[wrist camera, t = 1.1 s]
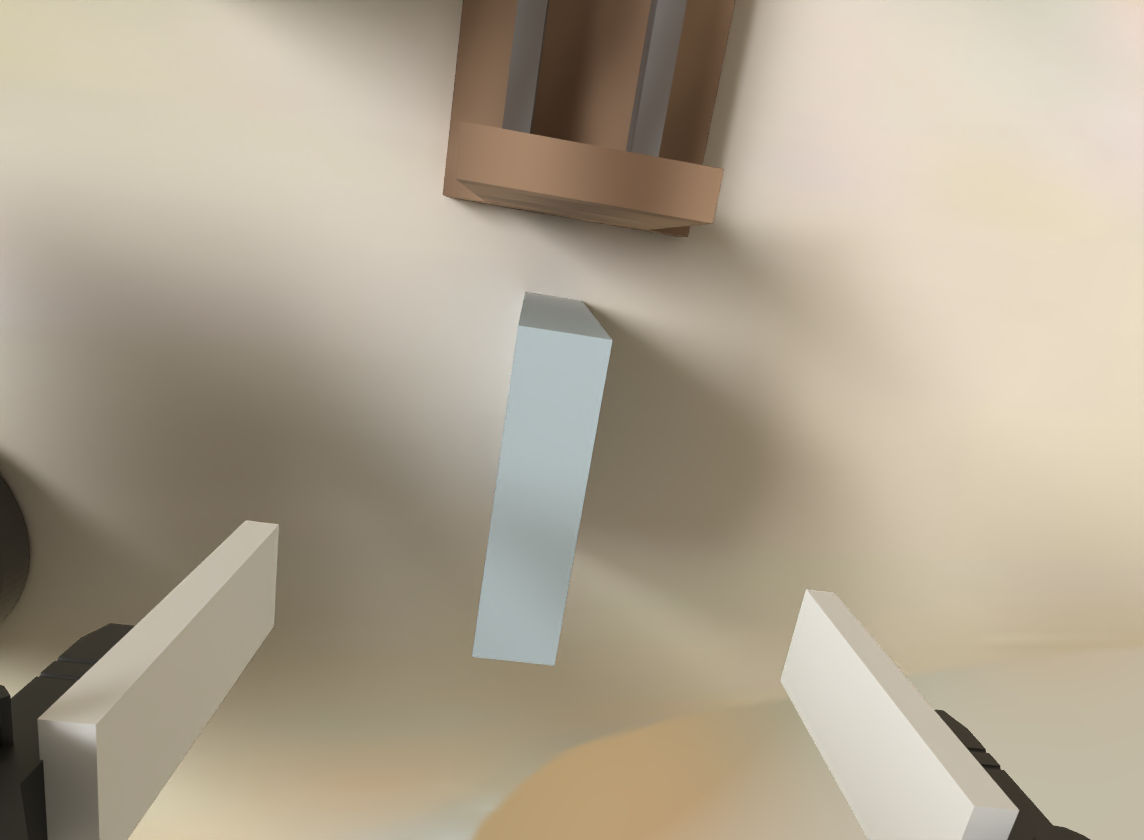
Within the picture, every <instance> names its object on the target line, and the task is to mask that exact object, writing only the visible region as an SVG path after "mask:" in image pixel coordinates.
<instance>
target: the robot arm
mask: <svg viewBox="0 0 1144 840" xmlns="http://www.w3.org/2000/svg"><path fill="white" fill-rule="evenodd" d="M278 538H279V524H273V523H265V522H257V521H248V520H246V521H245V522H243V523H242V524H241V525H240V526H239V527H238V528H237V529H236V530H235V531H234V532H233V533H232V534H231V535H230V536H229V537H228V538H227V539H226V540H225V541H224V542H222V543H221V544H220V545H219V546H218V547H217V548H216V549H215V550H214V551H213V552H212V553H211V554H210V555H209V556H208V557H207V558H206V559H205V560H204V561H203V562H202V563H200V564H199V565H198V566H197V567H196V568H195V569H194V570H193V571H192V572H191V573H190V574H189V575H188V576H187V577H186V578H185V579H184V580H183V581H182V582H181V583H180V584H178V585H177V586H176V587H175V588H174V589H173V590H172V591H171V592H170V593H169V594H168V595H167V596H166V597H165V598H164V599H163V600H162V601H161V602H160V603H159V604H158V605H156V606H155V607H154V608H153V609H152V610H151V611H150V612H149V613H148V614H147V615H146V616H145V617H144V618H143V619H142V620H141V621H140V622H139V623H138V624H137V625H136V626H130V625H121V624H109V625H106V626H104V627H102V628H100V629H98V630H96V631H94V632H92V633H90V634H88V635H86V636H84V637H82V638H80V639H79V640H78V641H77V642H76V643H75V644H73V645H72V646H71V647H70V648H69V649H68V650H67V651H65V652H64V653H63V654H62V655H61V656H60V657H59V659H58V661H54V662H53V663H52V664H50V665H49V666H48V667H47V668H46V669H45V670H43V671H42V672H41V675H40V677H35V678H34V679H33V680H32V681H31V682H30V683H28V684H27V685H26V686H25V687H24V688H23V689H22V690H20V691H19V692H18V693H17V694H16V695H15V696H14V697H12V698H11V697H10V694H9V693H8V691H7V690H6V688H5V687H4V686H2V685H0V840H128V838H129V837H130V835H131V834H132V832H133V831H134V829H135V828H136V826H137V825H138V823H139V822H140V821H141V819H142V818H143V816H144V815H145V813H146V812H147V810H148V809H149V807H150V806H151V805H152V803H153V802H154V800H155V799H156V797H157V796H158V794H159V793H160V791H161V790H162V788H163V787H164V786H165V784H166V783H167V781H168V780H169V778H170V777H171V775H172V774H173V772H174V771H175V770H176V768H177V767H178V765H179V764H180V762H181V761H182V759H183V758H184V756H185V755H186V754H187V752H188V751H189V749H190V748H191V746H192V745H193V743H194V742H195V740H196V739H197V737H198V736H199V735H200V733H201V732H202V730H203V729H204V727H205V726H206V724H207V723H208V721H209V720H210V719H211V717H212V716H213V714H214V713H215V711H216V710H217V708H218V707H219V705H220V704H221V702H222V701H223V700H224V698H225V697H226V695H227V694H228V692H229V691H230V689H231V688H232V686H233V685H234V684H235V682H236V681H237V679H238V678H239V676H240V675H241V673H242V672H243V670H244V669H245V668H246V666H247V665H248V663H249V662H250V660H251V659H252V657H253V656H254V654H255V653H256V651H257V650H258V649H259V647H260V646H261V644H262V643H263V641H264V640H265V638H266V637H267V635H268V634H269V633H270V631H271V630H272V628H273V627H274V618H275V598H276V578H277V558H278ZM28 564H29V545H28V537H27V532H26V528H25V524H24V520H23V518H22V515H21V512H20V509H19V507H18V505H17V503H16V501H15V499H14V497H13V495H12V493H11V491H10V490H9V488H8V487H7V485H6V483H5V482H4V480H3V479H2V478H1V476H0V622H1V621H2V620H3V619H4V618H5V617H6V616H7V615H8V613H9V612H10V611H11V609H12V608H13V607H14V605H15V604H16V602H17V600H18V598H19V596H20V594H21V592H22V590H23V587H24V584H25V581H26V577H27V572H28ZM780 681H781V683H782V685H783V687H784V689H785V690H786V692H787V694H788V696H789V698H790V699H791V701H792V703H793V705H794V707H795V708H796V710H797V712H798V714H799V716H800V717H801V719H802V721H803V723H804V725H805V727H806V728H807V730H808V732H809V734H810V735H811V737H812V739H813V741H814V742H815V745H816V746H817V748H818V750H819V752H820V754H821V755H822V757H823V759H824V761H825V763H826V765H827V766H828V768H829V770H830V772H831V773H832V775H833V777H834V779H835V780H836V783H837V784H838V786H839V788H840V789H841V792H842V793H843V795H844V797H845V799H846V801H847V802H848V804H849V806H850V808H851V810H852V812H853V813H854V815H855V817H856V819H857V821H858V822H859V824H860V826H861V828H862V830H863V831H864V833H865V835H866V837H867V839H868V840H1090V839H1088V838H1087V837H1085V836H1083V835H1081V834H1079V833H1077V832H1074V831H1072V830H1069V829H1067V828H1064V827H1059V826H1053V825H1052V824H1051V823H1050V822H1049V820H1048V819H1047V818H1046V817H1045V816H1044V815H1043V814H1042V813H1041V811H1040V810H1039V809H1038V808H1037V807H1036V806H1035V805H1034V803H1033V802H1032V801H1031V800H1030V799H1029V798H1028V797H1027V796H1026V794H1025V793H1024V792H1023V791H1022V790H1021V789H1020V788H1019V786H1018V785H1017V784H1016V783H1015V782H1014V781H1013V780H1012V779H1011V778H1010V776H1009V775H1008V774H1007V773H1006V772H1005V771H1004V770H1001V769H1000V765H999V764H998V763H997V762H996V760H995V759H994V758H993V757H992V756H991V755H990V754H989V753H986V750H985V748H984V747H983V746H982V745H981V743H980V742H979V741H978V740H977V739H976V738H975V737H974V736H973V734H972V733H971V732H970V731H969V730H968V729H967V728H966V727H964V726H963V725H962V724H960V723H959V722H958V721H956V720H955V719H954V718H952V717H951V716H950V715H948V714H947V713H946V712H944V711H942V710H934V709H933V708H932V707H931V706H930V705H929V703H928V702H927V701H926V700H925V699H924V697H923V696H922V695H921V694H920V693H919V692H918V690H917V689H916V688H915V687H914V686H913V684H912V683H911V682H910V681H909V680H908V678H907V677H906V676H905V675H904V674H903V673H902V671H901V670H900V669H899V668H898V667H897V666H896V664H895V663H894V662H893V661H892V660H891V658H890V657H889V656H888V655H887V654H886V653H885V651H884V650H883V649H882V648H881V647H880V645H879V644H878V643H877V642H876V641H875V640H874V638H873V637H872V636H871V635H870V634H869V632H868V631H867V630H866V629H865V628H864V627H863V625H862V624H861V623H860V622H859V621H858V620H857V618H856V617H855V616H854V615H853V614H852V612H851V611H850V610H849V609H848V608H847V607H846V605H845V604H844V603H843V602H842V601H841V599H840V598H839V597H838V596H837V595H836V594H835V592H827V591H819V590H811V589H806V591H805V595H804V598H803V602H802V605H801V609H800V612H799V616H798V619H797V623H796V627H795V630H794V634H793V637H792V641H791V644H790V648H789V651H788V655H787V658H786V662H785V665H784V669H783V673H782V676H781V680H780Z"/></svg>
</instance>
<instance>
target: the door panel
mask: <svg viewBox="0 0 1144 840" xmlns="http://www.w3.org/2000/svg"><path fill="white" fill-rule="evenodd" d="M612 341H613V340H612V339H611V337H610V336H609V335H608V333H607V332H606V331H605V330H604V328H603V327H602V326H601V324H600V323H599V322H598V321H597V319H596V318H595V317H594V315H593V314H592V313H591V312H590V310H589V309H588V308H587V306H586V305H585V304H584V303H583V301H579V300H573V299H567V298H560V297H554V296H548V295H542V294H535V293H529V292H525V297H524V301H523V306H522V311H521V315H520V320H519V325H518V331H517V339H516V346H515V353H514V360H513V367H512V374H511V381H510V388H509V396H508V403H507V410H506V417H505V424H504V431H503V438H502V446H501V453H500V460H499V467H498V474H497V481H496V488H495V495H494V503H493V510H492V517H491V524H490V531H489V538H488V545H487V552H486V560H485V567H484V574H483V581H482V588H481V595H480V602H479V610H478V617H477V624H476V631H475V638H474V645H473V652H472V657H478V658H487V659H496V660H506V661H515V662H524V663H534V664H543V665H553V666H555V660H556V654H557V649H558V643H559V638H560V632H561V626H562V621H563V615H564V610H565V604H566V598H567V593H568V587H569V582H570V576H571V570H572V565H573V559H574V554H575V548H576V542H577V537H578V531H579V526H580V520H581V514H582V509H583V503H584V498H585V492H586V486H587V481H588V475H589V469H590V464H591V458H592V453H593V447H594V441H595V436H596V430H597V425H598V419H599V413H600V408H601V402H602V397H603V391H604V385H605V380H606V374H607V369H608V363H609V357H610V352H611V346H612Z"/></svg>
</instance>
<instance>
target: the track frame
mask: <svg viewBox="0 0 1144 840" xmlns="http://www.w3.org/2000/svg"><path fill="white" fill-rule="evenodd" d="M734 4H735V0H463V7H462V17H461V26H460V36H459V45H458V55H457V64H456V74H455V83H454V93H453V102H452V112H451V121H450V131H449V140H448V150H447V159H446V169H445V178H444V188H443V195H445V196H447V197H451V198H457V199H463V200H469V201H475V202H481V203H486V204H492V205H498V206H504V207H510V208H515V209H521V210H527V211H533V212H539V213H545V214H550V215H556V216H562V217H568V218H574V219H579V220H585V221H591V222H597V223H603V224H609V225H614V226H620V227H626V228H632V229H638V230H643V231H649V232H655V233H661V234H667V235H672V236H678V237H688V234H689V229H690V226H692V225H702V224H711V223H713V220H714V215H715V210H716V205H717V201H718V196H719V191H720V186H721V181H722V177H723V172H724V169H720V168H715V167H709V166H704V165H702V164H703V159H704V154H705V149H706V144H707V139H708V134H709V129H710V124H711V119H712V114H713V109H714V104H715V99H716V94H717V89H718V84H719V79H720V74H721V69H722V64H723V59H724V54H725V49H726V44H727V39H728V34H729V29H730V24H731V19H732V14H733V9H734Z"/></svg>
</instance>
